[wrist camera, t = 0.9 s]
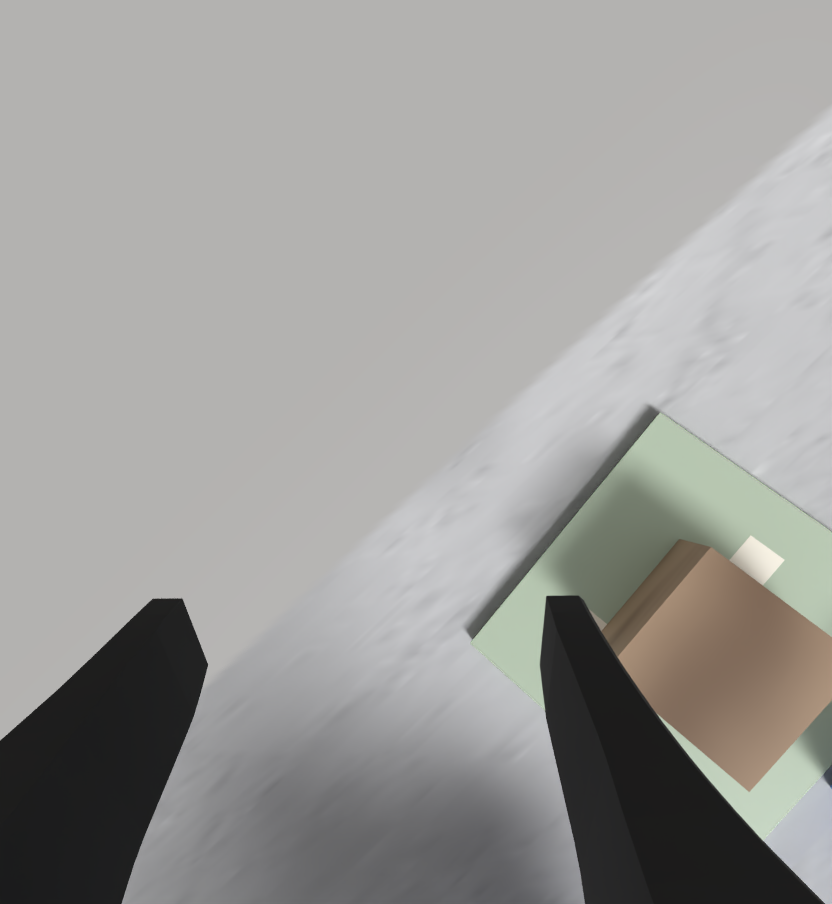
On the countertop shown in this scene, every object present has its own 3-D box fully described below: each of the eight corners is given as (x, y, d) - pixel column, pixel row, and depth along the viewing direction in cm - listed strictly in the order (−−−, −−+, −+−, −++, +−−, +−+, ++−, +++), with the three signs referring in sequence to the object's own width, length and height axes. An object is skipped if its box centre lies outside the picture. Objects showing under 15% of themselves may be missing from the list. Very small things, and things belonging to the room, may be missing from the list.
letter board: (949, 618, 20) (961, 622, 19) (724, 866, 21) (729, 877, 20) (657, 414, 23) (660, 412, 22) (472, 639, 24) (469, 643, 23)
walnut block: (798, 629, 20) (865, 662, 16) (708, 732, 21) (749, 792, 16) (679, 538, 22) (711, 546, 17) (595, 638, 22) (605, 670, 18)
